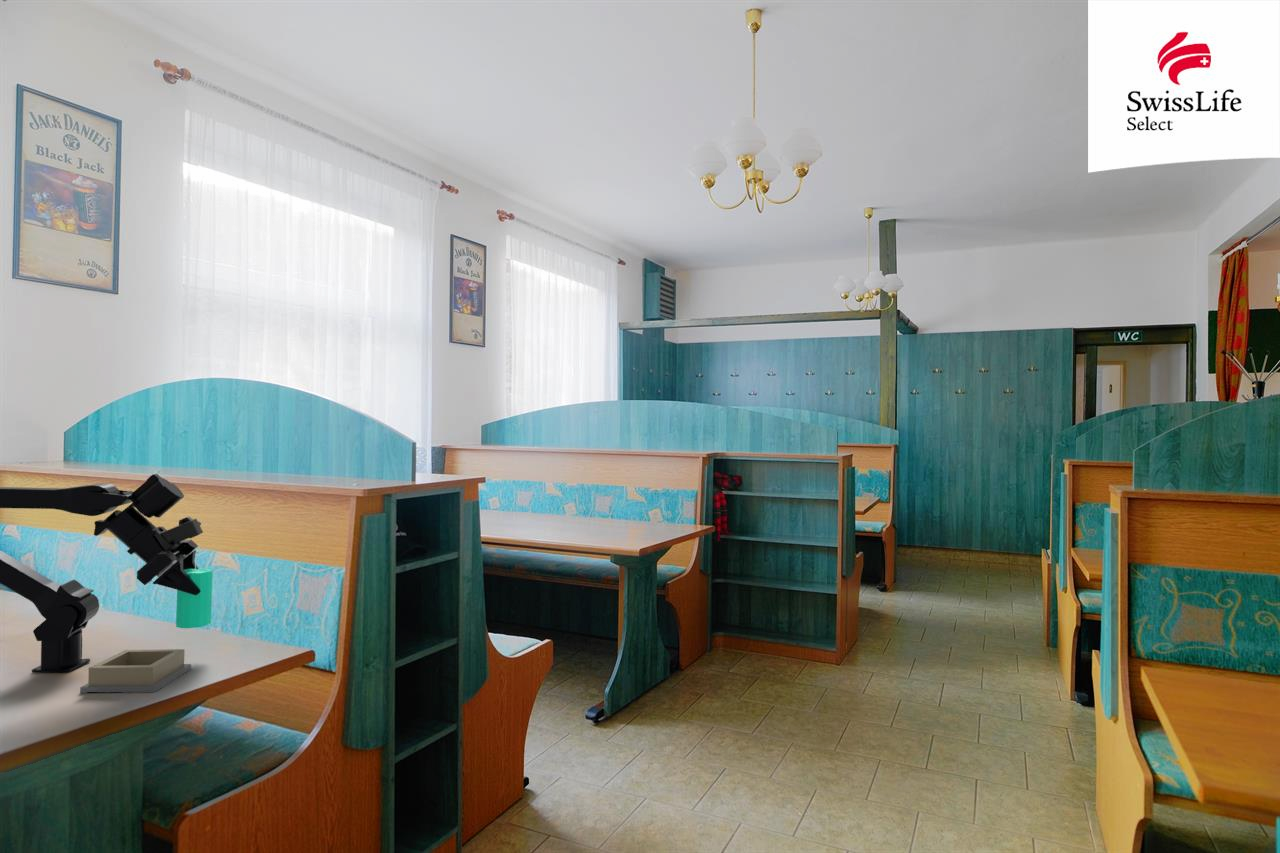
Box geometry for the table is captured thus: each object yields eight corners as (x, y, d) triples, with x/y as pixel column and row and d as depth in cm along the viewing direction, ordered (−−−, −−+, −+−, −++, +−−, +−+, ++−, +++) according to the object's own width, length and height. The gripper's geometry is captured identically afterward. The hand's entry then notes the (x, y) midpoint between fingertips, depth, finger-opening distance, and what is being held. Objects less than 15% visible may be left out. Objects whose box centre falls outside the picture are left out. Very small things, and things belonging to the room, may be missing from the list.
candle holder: (154, 692, 126) (155, 668, 126) (80, 693, 125) (80, 669, 125) (190, 669, 138) (191, 647, 138) (122, 670, 137) (123, 648, 137)
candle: (207, 627, 143) (209, 565, 143) (171, 629, 141) (173, 566, 141) (214, 619, 149) (216, 559, 149) (180, 621, 147) (182, 560, 147)
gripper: (159, 510, 135) (225, 569, 138) (187, 500, 153) (245, 552, 156) (107, 554, 132) (175, 613, 136) (142, 539, 150) (202, 591, 154)
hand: (202, 590), depth 145 cm, fingers closed on candle, 5 cm apart
